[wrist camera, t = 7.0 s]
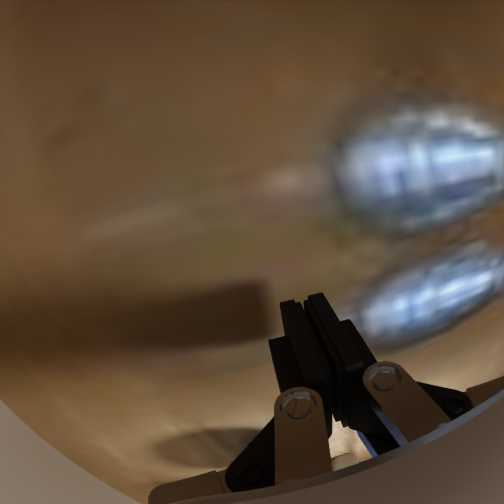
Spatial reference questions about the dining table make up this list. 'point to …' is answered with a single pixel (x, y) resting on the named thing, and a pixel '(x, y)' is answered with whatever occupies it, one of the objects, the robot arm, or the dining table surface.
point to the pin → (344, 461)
